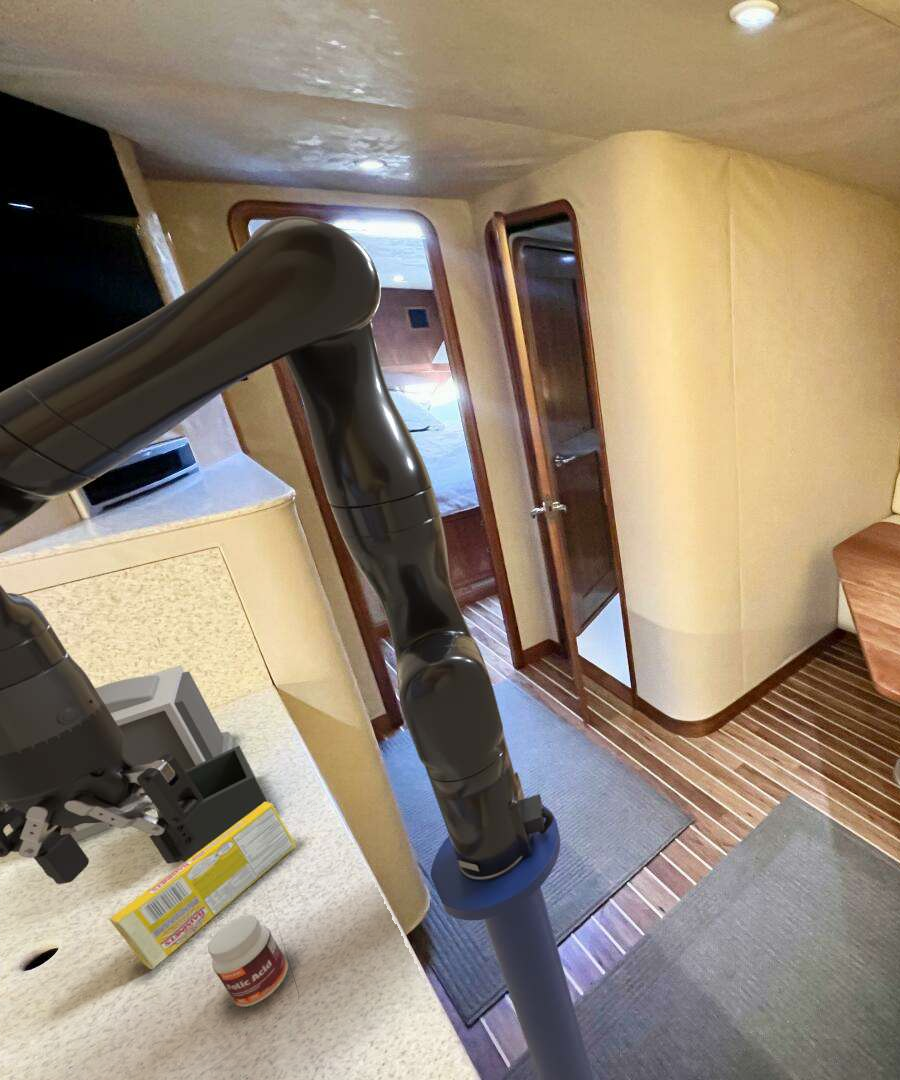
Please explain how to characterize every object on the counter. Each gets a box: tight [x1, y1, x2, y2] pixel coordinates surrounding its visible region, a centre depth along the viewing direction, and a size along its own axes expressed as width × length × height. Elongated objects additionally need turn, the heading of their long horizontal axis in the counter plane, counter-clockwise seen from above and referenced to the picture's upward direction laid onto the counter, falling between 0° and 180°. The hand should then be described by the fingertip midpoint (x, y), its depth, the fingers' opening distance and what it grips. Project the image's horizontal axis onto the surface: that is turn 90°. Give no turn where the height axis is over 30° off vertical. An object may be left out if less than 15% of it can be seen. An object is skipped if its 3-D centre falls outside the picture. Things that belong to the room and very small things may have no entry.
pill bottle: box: [207, 914, 289, 1007], centre depth 57 cm, size 5×5×8 cm
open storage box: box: [156, 745, 268, 863], centre depth 78 cm, size 10×10×8 cm
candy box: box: [108, 801, 297, 970], centre depth 66 cm, size 16×2×8 cm, turn 161°
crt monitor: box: [61, 665, 234, 843], centre depth 84 cm, size 18×13×18 cm
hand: (129, 864), depth 48 cm, fingers open, 8 cm apart
